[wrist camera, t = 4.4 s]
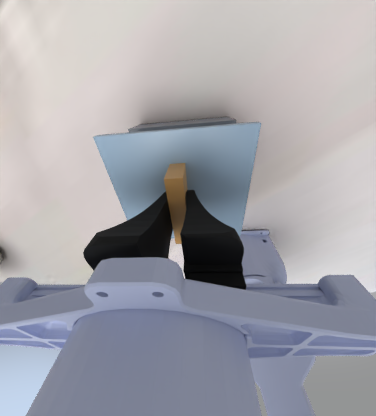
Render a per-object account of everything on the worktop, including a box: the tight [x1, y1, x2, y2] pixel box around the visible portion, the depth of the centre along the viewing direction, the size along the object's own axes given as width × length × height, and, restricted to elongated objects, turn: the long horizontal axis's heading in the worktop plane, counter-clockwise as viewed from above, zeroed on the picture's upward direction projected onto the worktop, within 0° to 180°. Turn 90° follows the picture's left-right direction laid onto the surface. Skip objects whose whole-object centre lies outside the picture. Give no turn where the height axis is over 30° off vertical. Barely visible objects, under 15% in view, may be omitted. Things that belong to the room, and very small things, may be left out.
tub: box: [128, 117, 236, 132], centre depth 19 cm, size 11×10×4 cm
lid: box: [93, 122, 261, 244], centre depth 13 cm, size 12×11×4 cm
